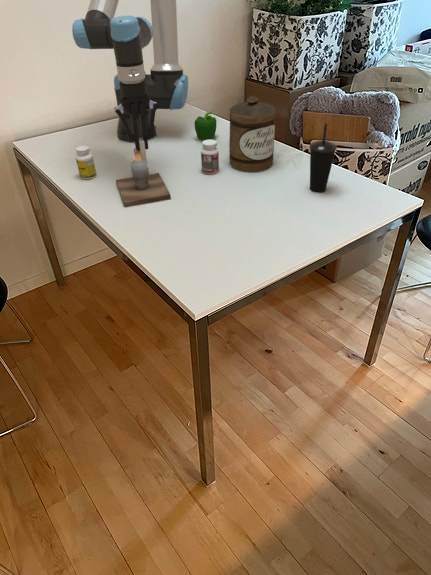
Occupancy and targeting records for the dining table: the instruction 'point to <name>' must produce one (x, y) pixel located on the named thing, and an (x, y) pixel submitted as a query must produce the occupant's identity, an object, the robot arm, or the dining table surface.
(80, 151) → the supplement bottle
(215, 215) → the dining table surface
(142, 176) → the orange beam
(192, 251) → the dining table surface
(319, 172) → the drinking cup
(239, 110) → the wooden container
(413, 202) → the dining table surface
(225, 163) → the dining table surface
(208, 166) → the pill bottle
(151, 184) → the base
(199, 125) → the bell pepper
